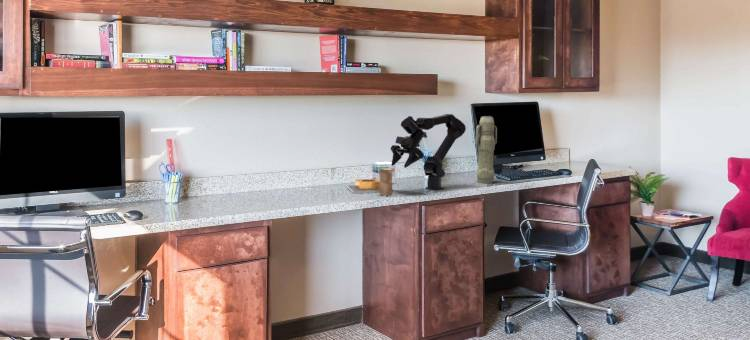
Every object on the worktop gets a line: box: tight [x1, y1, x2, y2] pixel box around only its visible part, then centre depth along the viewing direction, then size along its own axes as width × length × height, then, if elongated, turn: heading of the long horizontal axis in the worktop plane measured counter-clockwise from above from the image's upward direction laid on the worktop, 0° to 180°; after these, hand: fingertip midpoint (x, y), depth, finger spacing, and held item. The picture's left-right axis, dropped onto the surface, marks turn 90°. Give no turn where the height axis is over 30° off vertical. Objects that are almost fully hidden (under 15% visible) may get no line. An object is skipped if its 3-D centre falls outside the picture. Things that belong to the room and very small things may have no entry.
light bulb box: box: [371, 161, 397, 184], centre depth 367 cm, size 11×7×11 cm, turn 123°
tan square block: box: [379, 169, 393, 196], centre depth 328 cm, size 4×4×12 cm
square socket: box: [346, 178, 380, 194], centre depth 342 cm, size 18×18×5 cm
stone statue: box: [475, 115, 498, 185], centre depth 370 cm, size 9×12×35 cm
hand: (398, 166), depth 332 cm, fingers open, 9 cm apart
